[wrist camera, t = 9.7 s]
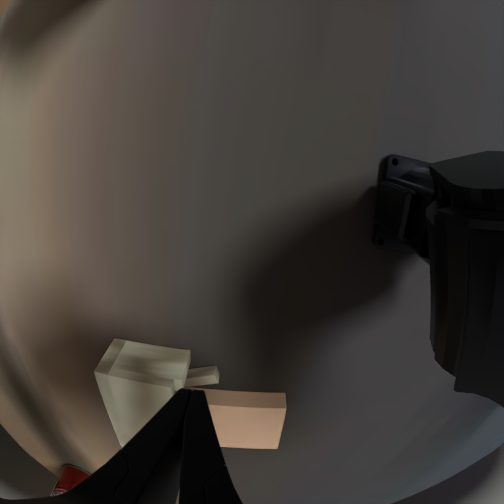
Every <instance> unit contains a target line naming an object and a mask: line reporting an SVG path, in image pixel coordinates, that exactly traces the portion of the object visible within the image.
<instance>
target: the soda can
mask: <svg viewBox="0 0 504 504" xmlns="http://www.w3.org/2000/svg"><path fill="white" fill-rule="evenodd" d="M90 475H91V474H90V473H88V472H87V471H85V470H83V469H81V468H79V467H77V466H74V465H65V466H64V467H63V469H62V471H61V474H60V476H59V478H58V480H57V483H56V485H55V488H54V490H53V492H52V494H51V496H55V495H59V494H62V493H64V492H66V491H68V490H70V489H71V488H73V487H74V486H76V485H77V484H79V483H80V482H81V481H83V480H84V479H86V478H87V477H88V476H90Z"/></svg>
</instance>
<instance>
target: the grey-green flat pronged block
mask: <svg viewBox="0 0 504 504" xmlns="http://www.w3.org/2000/svg"><path fill="white" fill-rule="evenodd" d="M190 362H191V357H190V350H183V349H176V348H169V347H163V346H156V345H150V344H144V343H138V342H133V341H127V340H122V339H117V338H114V340H113V341H112V343H111V344H110V346H109V347H108V349H107V351H106V352H105V354H104V355H103V357H102V359H101V360H100V362H99V364H98V365H97V367H96V368H95V370H94V374H95V377H96V380H97V383H98V387H99V390H100V393H101V396H102V398H103V401H104V404H105V407H106V410H107V412H108V415H109V418H110V420H111V423H112V425H113V428H114V430H115V433H116V435H117V438H118V440H119V442H120V445H121V447H123V446H124V445H125V444H126V443H127V442H128V441H129V440H130V439H131V438H132V437H133V436H134V435H135V434H136V433H137V432H138V431H139V430H140V429H141V428H142V427H143V426H144V425H145V424H146V423H147V422H148V421H149V420H150V419H151V418H152V417H153V416H154V415H155V414H156V413H157V412H158V411H159V410H160V409H161V408H162V407H163V406H164V405H165V404H166V403H167V402H168V400H169V399H170V398H171V397H172V396H173V395H174V394H175V390H179V389H180V388H184V386H185V387H191V386H199V385H208V384H215V383H218V382H219V375H220V373H219V371H218V369H217V366H216V365H214V366H207V367H200V368H193V369H189V365H190Z"/></svg>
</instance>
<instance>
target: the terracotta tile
mask: <svg viewBox="0 0 504 504" xmlns="http://www.w3.org/2000/svg"><path fill="white" fill-rule="evenodd" d="M184 388H186V389H191V390H192V391H193V390H194V389H196V390H204V391H205V394H206V398H207V402H208V405H209V409H210V413H211V416H212V420H213V423H214V427H215V430H216V434H217V437H218V440H219V444H220V446H221V447H235V448H258V449H277V448H278V444H279V440H280V436H281V431H282V427H283V422H284V418H285V413H286V409H287V407H286V397H285V393H264V392H241V391H226V390H214V389H203V388H194V387H185V386H184ZM177 391H178V390H175V393H176V392H177Z"/></svg>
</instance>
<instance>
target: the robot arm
mask: <svg viewBox="0 0 504 504" xmlns="http://www.w3.org/2000/svg"><path fill="white" fill-rule="evenodd" d="M392 159H395V160H396V163H395V165H393V164H392ZM374 219H375V221H376V225H375V230H374V235H373V240H372V242H373V245H374V246H375V247H377V248H378V249H386V250H395V251H404V252H413V253H415V254H417V255H418V256H419V257H420V258H421V259H423V260H424V261H425V262H426V263H428V264H429V265H430V284H431V319H430V340H431V344H432V348H433V351H434V353H435V360H436V361H437V362H438V364H439V365H440V366H441V367H442V368H443V369H444V370H446V371H447V372H449V373H450V374H452V375H453V376H455V377H456V380H455V384H454V391H456V392H464V393H474V394H477V395H480V396H483V397H487V398H489V399H491V400H493V401H494V402H496V403H498V404H499V405H501V406H502V407H503V408H504V152H502V151H485V152H480V153H476V154H471V155H466V156H462V157H457V158H453V159H448V160H444V161H440V162H435V163H427V162H423V161H419V160H416V159H412V158H408V157H404V156H399V155H395V154H391V155H389V156H388V157H387V159H386V165H385V172H384V179H383V181H382V182H381V183H380V186H379V193H378V199H377V205H376V210H375V216H374ZM381 238H382V242H381V243H379V244H378V240H379V239H381ZM179 487H180V493H179V504H243V503H242V501H241V500H240V498H239V496H238V494H237V492H236V490H235V488H234V485H233V483H232V480H231V478H230V475H229V472H228V469H227V466H226V463H225V460H224V457H223V454H222V450H221V447H220V444H219V440H218V437H217V434H216V430H215V427H214V423H213V420H212V416H211V413H210V409H209V405H208V402H207V398H206V394H205V391H204V390H196V389H194V390H193V391H192V390H191V389H186V388H180V389H179V390H178V391H177V392H176V393H175V394H174V395H173V396H172V397H171V398H170V399H169V400H168V402H167V403H166V404H165V405H164V406H163V407H162V408H161V409H160V410H159V411H158V412H157V413H156V414H155V415H154V416H153V417H152V418H151V419H150V420H149V421H148V422H147V423H146V424H145V425H144V426H143V427H142V428H141V429H140V430H139V431H138V432H137V433H136V434H135V435H134V436H133V437H132V438H131V439H130V440H129V441H128V442H127V443H126V444H125V445H124V446H123V447H122V449H120V450H119V451H118V452H117V453H116V454H115V455H114V456H113V457H112V458H111V459H110V460H109V461H108V462H107V463H106V464H104V465H103V466H102V467H100V468H99V469H98V470H97V471H95V472H94V473H93V474H91V475H90V476H88V477H87V478H86V479H84V480H83V481H81V482H80V483H79V484H77V485H76V486H74V487H73V488H71V489H70V490H68V491H66V492H64V493H62V494H59V495H55V496H48V497H40V498H30V499H19V500H8V499H3V498H0V504H175V503H176V499H177V495H178V491H179Z"/></svg>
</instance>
